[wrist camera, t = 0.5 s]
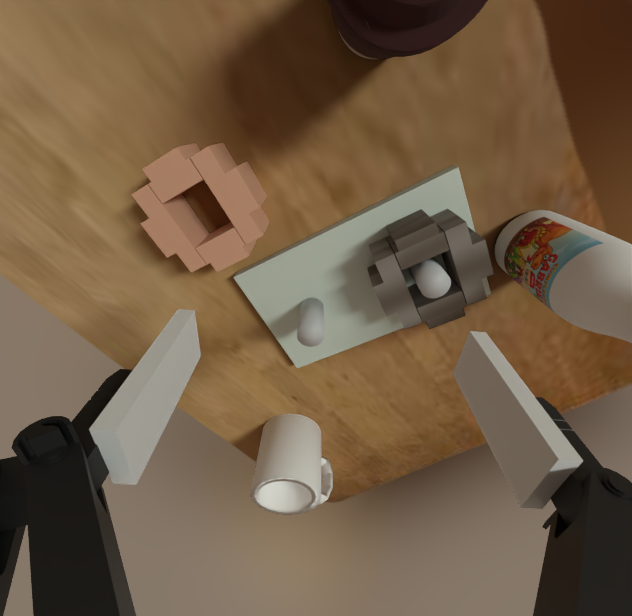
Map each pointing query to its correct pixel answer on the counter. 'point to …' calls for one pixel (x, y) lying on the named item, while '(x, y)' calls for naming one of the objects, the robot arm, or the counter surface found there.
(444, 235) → the gear
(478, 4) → the coffee cup
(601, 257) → the milk bottle
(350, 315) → the board
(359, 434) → the counter surface
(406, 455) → the counter surface
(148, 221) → the gear
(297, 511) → the mug
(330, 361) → the counter surface
